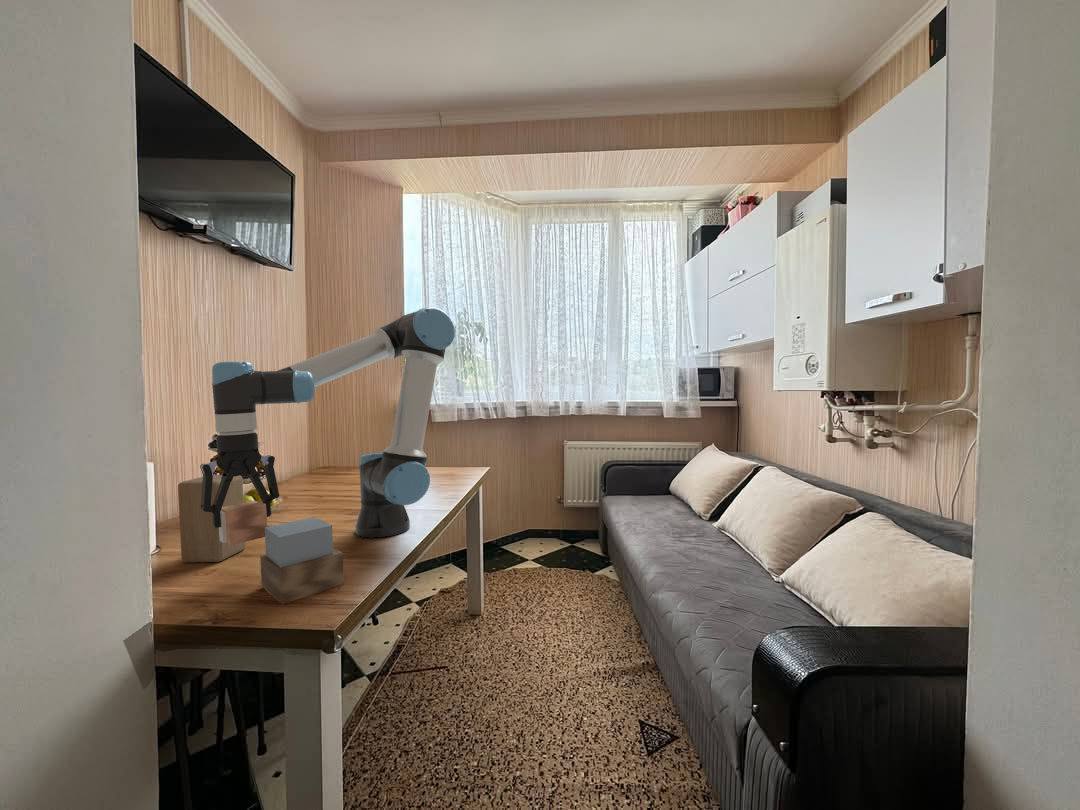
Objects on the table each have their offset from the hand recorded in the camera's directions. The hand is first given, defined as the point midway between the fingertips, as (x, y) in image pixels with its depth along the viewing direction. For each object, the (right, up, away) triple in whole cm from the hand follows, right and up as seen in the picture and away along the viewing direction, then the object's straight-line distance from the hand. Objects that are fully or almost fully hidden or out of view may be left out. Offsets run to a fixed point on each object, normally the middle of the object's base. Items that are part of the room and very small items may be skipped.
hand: (244, 536), depth 100 cm
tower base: (+15, -10, -4) cm, 18 cm away
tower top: (+15, -3, -5) cm, 16 cm away
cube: (0, 0, 0) cm, 0 cm away
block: (-17, -10, +15) cm, 25 cm away
